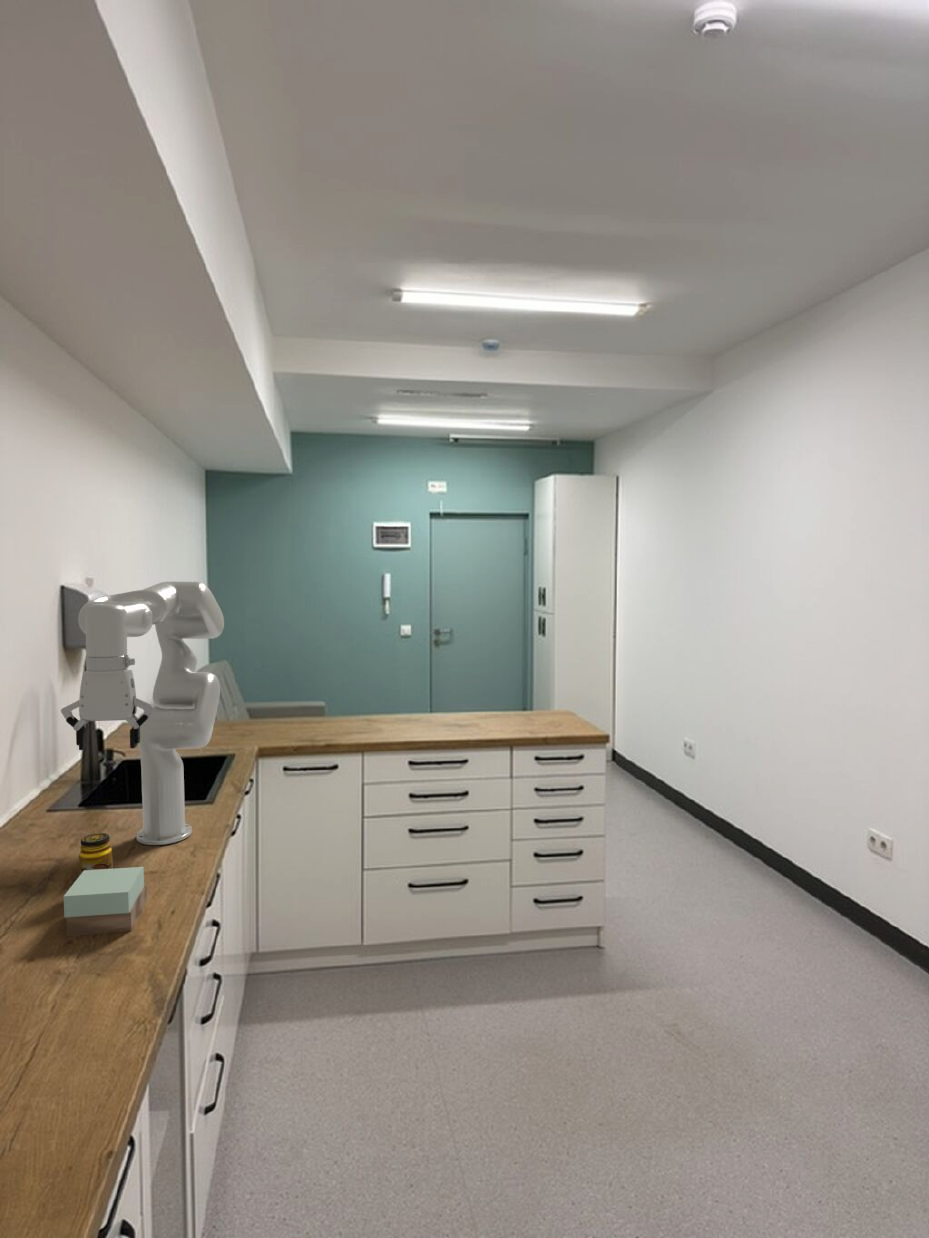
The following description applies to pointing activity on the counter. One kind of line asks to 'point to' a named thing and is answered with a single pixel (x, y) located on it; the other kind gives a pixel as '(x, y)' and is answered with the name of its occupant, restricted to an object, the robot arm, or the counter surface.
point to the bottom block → (107, 920)
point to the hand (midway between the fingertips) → (108, 747)
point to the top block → (104, 892)
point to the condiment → (95, 852)
